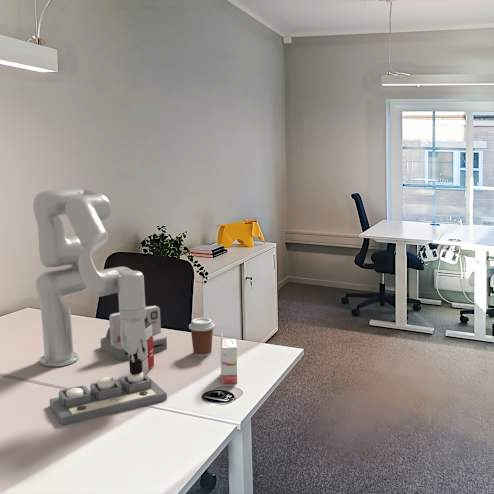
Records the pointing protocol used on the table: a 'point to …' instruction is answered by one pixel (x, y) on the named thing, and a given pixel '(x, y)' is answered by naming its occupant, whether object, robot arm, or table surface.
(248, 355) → the table surface
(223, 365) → the ink cartridge box
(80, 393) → the button
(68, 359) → the robot arm
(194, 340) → the coffee cup
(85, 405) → the switch panel
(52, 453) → the table surface
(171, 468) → the table surface
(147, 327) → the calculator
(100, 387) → the button
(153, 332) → the instant camera
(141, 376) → the button
